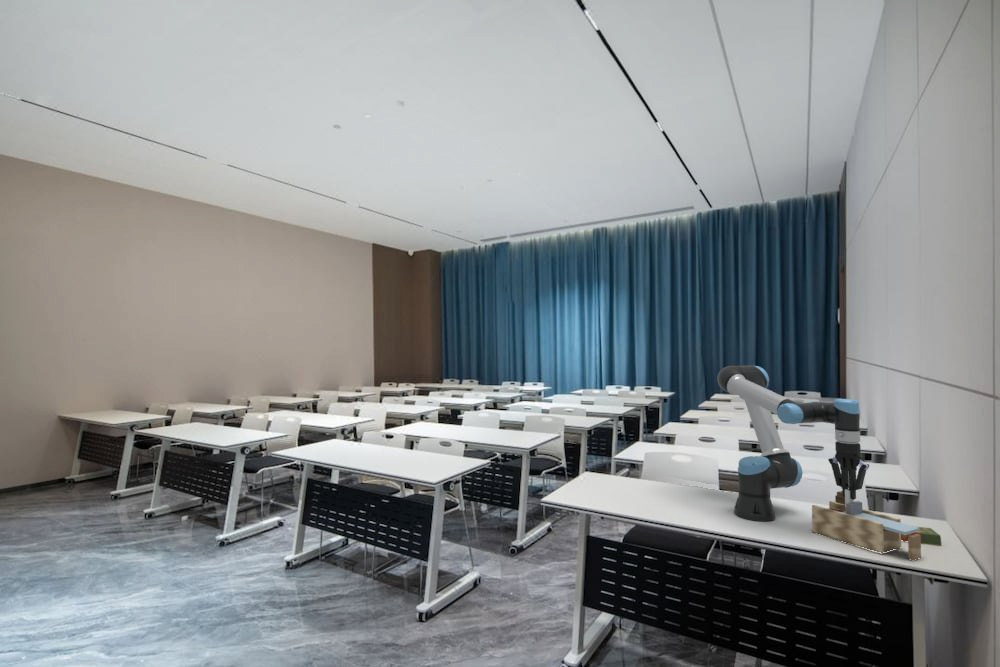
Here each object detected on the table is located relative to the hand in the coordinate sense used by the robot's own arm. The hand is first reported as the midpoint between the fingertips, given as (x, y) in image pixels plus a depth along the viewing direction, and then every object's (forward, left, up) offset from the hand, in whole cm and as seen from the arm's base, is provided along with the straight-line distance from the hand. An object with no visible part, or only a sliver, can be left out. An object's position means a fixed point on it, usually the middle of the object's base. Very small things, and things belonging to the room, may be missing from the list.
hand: (849, 507), depth 181 cm
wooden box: (+5, 0, -11) cm, 12 cm away
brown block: (-8, +10, -11) cm, 17 cm away
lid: (+9, 0, -3) cm, 9 cm away
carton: (+9, +19, -12) cm, 24 cm away
